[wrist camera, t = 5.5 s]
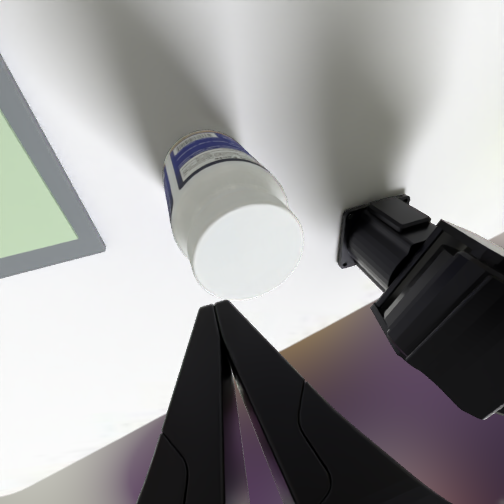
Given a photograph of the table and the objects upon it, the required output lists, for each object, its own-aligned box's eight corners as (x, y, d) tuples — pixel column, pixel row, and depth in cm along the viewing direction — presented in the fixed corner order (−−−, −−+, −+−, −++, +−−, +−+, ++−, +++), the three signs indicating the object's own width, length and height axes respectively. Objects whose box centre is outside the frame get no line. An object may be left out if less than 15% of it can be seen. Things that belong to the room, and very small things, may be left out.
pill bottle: (227, 221, 21) (274, 318, 13) (150, 196, 18) (154, 302, 11) (261, 150, 19) (343, 217, 11) (180, 110, 16) (213, 162, 8)
